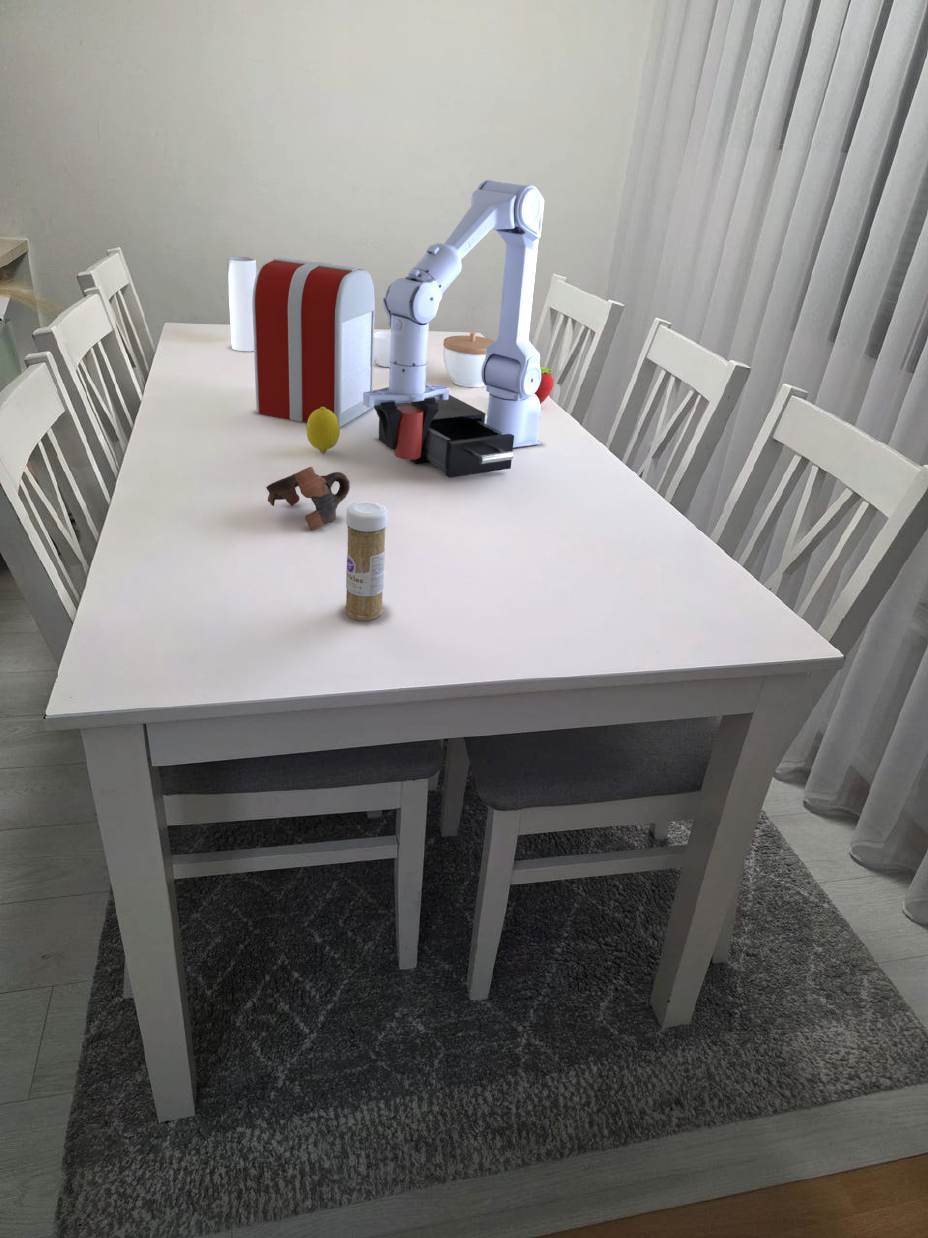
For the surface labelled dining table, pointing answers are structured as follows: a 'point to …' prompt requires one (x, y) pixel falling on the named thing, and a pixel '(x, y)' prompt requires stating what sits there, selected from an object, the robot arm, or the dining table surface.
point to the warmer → (444, 416)
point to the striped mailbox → (312, 339)
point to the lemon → (323, 429)
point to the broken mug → (312, 493)
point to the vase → (241, 301)
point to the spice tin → (409, 433)
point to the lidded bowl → (465, 359)
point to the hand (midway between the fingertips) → (404, 446)
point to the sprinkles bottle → (365, 560)
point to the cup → (382, 348)
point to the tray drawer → (467, 447)
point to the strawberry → (545, 384)
